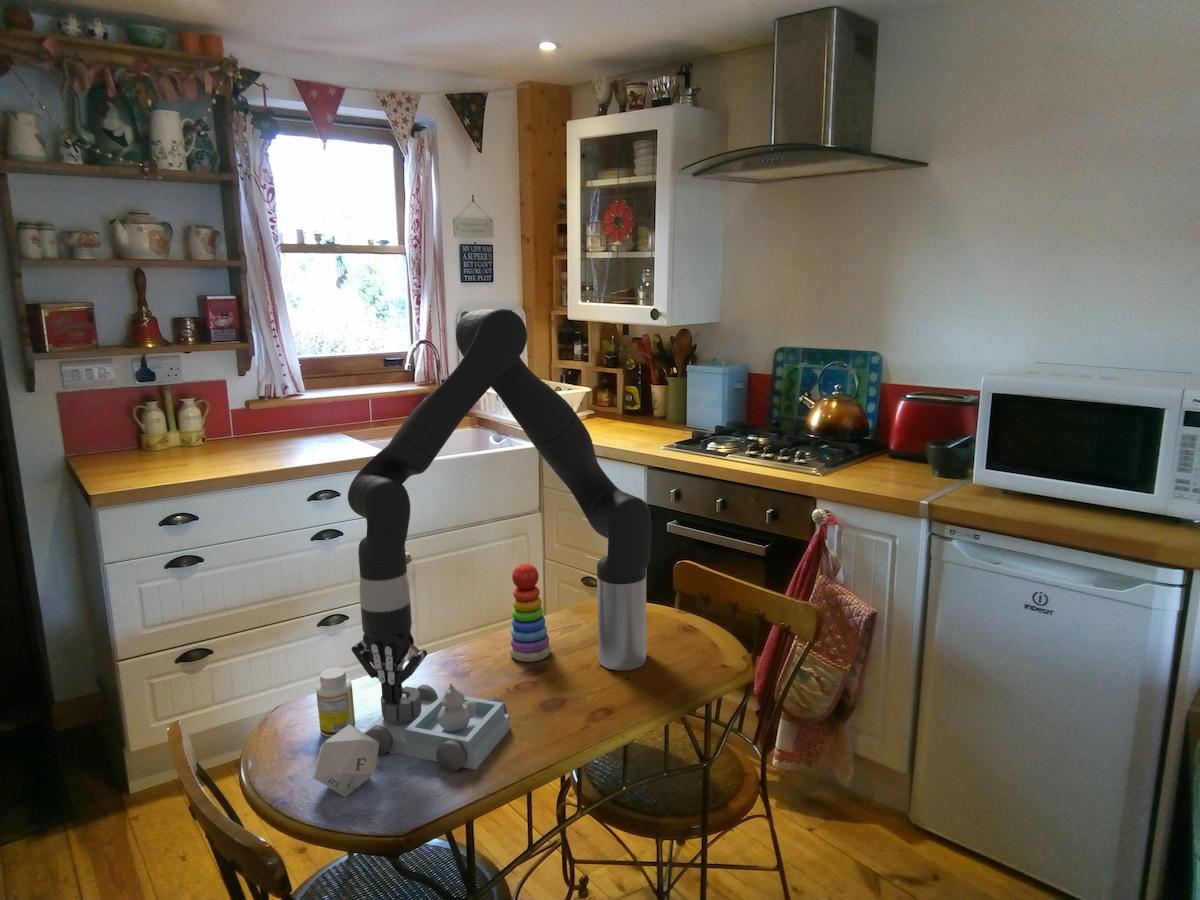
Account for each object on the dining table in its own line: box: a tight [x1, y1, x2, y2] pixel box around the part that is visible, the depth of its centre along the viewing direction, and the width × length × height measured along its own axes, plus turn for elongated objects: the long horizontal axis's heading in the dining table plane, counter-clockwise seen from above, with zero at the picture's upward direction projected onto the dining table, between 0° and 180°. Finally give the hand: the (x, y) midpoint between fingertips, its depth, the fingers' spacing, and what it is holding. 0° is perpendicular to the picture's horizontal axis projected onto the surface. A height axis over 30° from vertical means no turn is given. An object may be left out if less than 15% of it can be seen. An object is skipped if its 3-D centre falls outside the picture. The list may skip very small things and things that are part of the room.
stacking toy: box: [509, 563, 552, 663], centre depth 159 cm, size 8×8×19 cm
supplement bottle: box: [315, 667, 356, 738], centre depth 134 cm, size 6×6×10 cm
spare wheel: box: [380, 686, 421, 723], centre depth 133 cm, size 6×6×3 cm
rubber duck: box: [437, 682, 477, 732], centre depth 129 cm, size 5×7×8 cm
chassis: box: [362, 684, 511, 773], centre depth 131 cm, size 15×20×6 cm
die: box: [313, 724, 379, 798], centre depth 119 cm, size 8×9×10 cm
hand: (392, 702), depth 131 cm, fingers closed
